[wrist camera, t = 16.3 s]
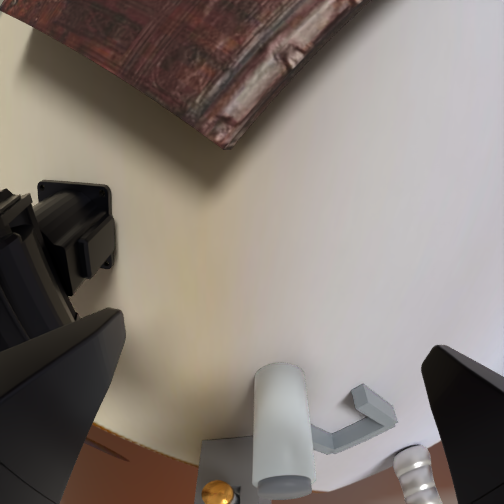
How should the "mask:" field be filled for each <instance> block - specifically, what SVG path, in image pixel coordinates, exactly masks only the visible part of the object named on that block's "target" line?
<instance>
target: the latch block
mask: <svg viewBox="0 0 504 504" xmlns="http://www.w3.org/2000/svg"><path fill="white" fill-rule="evenodd" d="M252 475H253V436H248V437H239V438H229V439H217V440H203V441H202V447H201V454H200V462H199V470H198V478H197V486H196V494H195V502H194V504H205V503H204V501H203V500H202V496H201V493H202V490H203V488H204V486H205V485H206V484H208V483H209V482H211V481H214V480H221V481H224V482H226V483H227V484H229V485H230V486H231V487H232V488H233V490H234V492H235V493H237V494H239V495H240V504H271V499H265V498H261V497H259V496H258V488H257V487H255V486H254V485H253V484H252Z"/></svg>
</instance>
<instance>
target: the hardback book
mask: <svg viewBox="0 0 504 504" xmlns="http://www.w3.org/2000/svg"><path fill="white" fill-rule="evenodd" d="M370 1H371V0H4V1H3V3H2V4H1V6H0V11H2V12H4V13H6V14H8V15H10V16H12V17H14V18H16V19H18V20H20V21H22V22H24V23H26V24H28V25H30V26H32V27H34V28H36V29H37V30H39V31H41V32H43V33H45V34H47V35H49V36H50V37H52V38H54V39H56V40H58V41H59V42H61V43H63V44H65V45H66V46H68V47H70V48H72V49H73V50H75V51H77V52H78V53H80V54H82V55H83V56H85V57H87V58H88V59H90V60H92V61H93V62H95V63H97V64H98V65H100V66H102V67H103V68H105V69H106V70H108V71H110V72H111V73H113V74H114V75H116V76H118V77H119V78H121V79H122V80H124V81H125V82H127V83H129V84H130V85H132V86H133V87H135V88H136V89H138V90H139V91H141V92H142V93H144V94H145V95H147V96H148V97H150V98H151V99H153V100H154V101H156V102H157V103H159V104H160V105H162V106H163V107H165V108H166V109H168V110H169V111H170V112H172V113H173V114H175V115H176V116H178V117H179V118H180V119H182V120H183V121H185V122H186V123H188V124H189V125H190V126H192V127H193V128H195V129H196V130H197V131H199V132H200V133H202V134H203V135H204V136H206V137H207V138H208V139H210V140H211V141H213V142H214V143H215V144H217V145H218V146H219V147H221V148H222V149H223V150H231V149H232V147H233V146H234V145H235V144H236V142H237V141H238V140H239V139H240V138H241V136H242V135H243V134H244V133H245V132H246V130H247V129H248V128H249V127H250V126H251V124H252V123H253V122H254V121H255V120H256V119H257V117H258V116H259V115H260V114H261V113H262V112H263V110H264V109H265V108H266V107H267V106H268V105H269V104H270V103H271V101H272V100H273V99H274V98H275V97H276V96H277V95H278V94H279V92H280V91H281V90H282V89H283V88H284V87H285V86H286V85H287V84H288V82H289V81H290V80H291V79H292V78H293V77H294V76H295V75H296V74H297V73H298V72H299V71H300V70H301V69H302V67H303V66H304V65H305V64H306V63H307V62H308V61H309V60H310V59H311V58H312V57H313V56H314V55H315V54H316V53H317V52H318V51H319V50H320V49H321V48H322V47H323V46H324V45H325V44H326V43H327V42H328V41H329V40H330V39H331V38H332V37H333V36H334V35H335V34H336V33H337V32H338V31H339V30H340V29H341V28H342V27H343V26H344V25H345V24H346V23H347V22H348V21H349V20H350V19H351V18H352V17H354V16H355V15H356V14H357V13H358V12H359V11H360V10H361V9H362V8H363V7H364V6H365V5H367V4H368V3H369V2H370Z"/></svg>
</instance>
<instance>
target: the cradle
mask: <svg viewBox="0 0 504 504" xmlns="http://www.w3.org/2000/svg"><path fill="white" fill-rule="evenodd" d="M351 391H352V395H353V400H354V404H355V408H356V410H358V411H360V412H361V413H363V414H365V415H366V416H368V417H366V418H364V419H362V420H360V421H358V422H356V423H354V424H352V425H350V426H348V427H346V428H344V429H342V430H339V431H337V432H335V433H333V434H330V433H328V432H326V431H324V430H322V429H320V428H318V427H316V426H314V425H311V433H312V443H313V450H316V451H318V452H321V453H324V454H326V455H328V454H331V453H332V454H337V453H339V452H342V451H344V450H346V449H349V448H351V447H353V446H356V445H358V444H360V443H362V442H364V441H367V440H369V439H371V438H373V437H375V436H377V435H379V434H381V433H383V432H385V431H387V430H389V429H391V428H393V427H395V423H397V422H398V421H397V417H396V414H395V411H394V408H393V406H392V405H391V404H389V403H388V402H387V401H385V400H384V399H383V398H381V397H380V396H379V395H377V394H376V393H375V392H373V391H372V390H371V389H369V388H368V387H367V386H365V385H364V384H362V385H360V386H358V387H356V388H355V389H353V390H351Z"/></svg>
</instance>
